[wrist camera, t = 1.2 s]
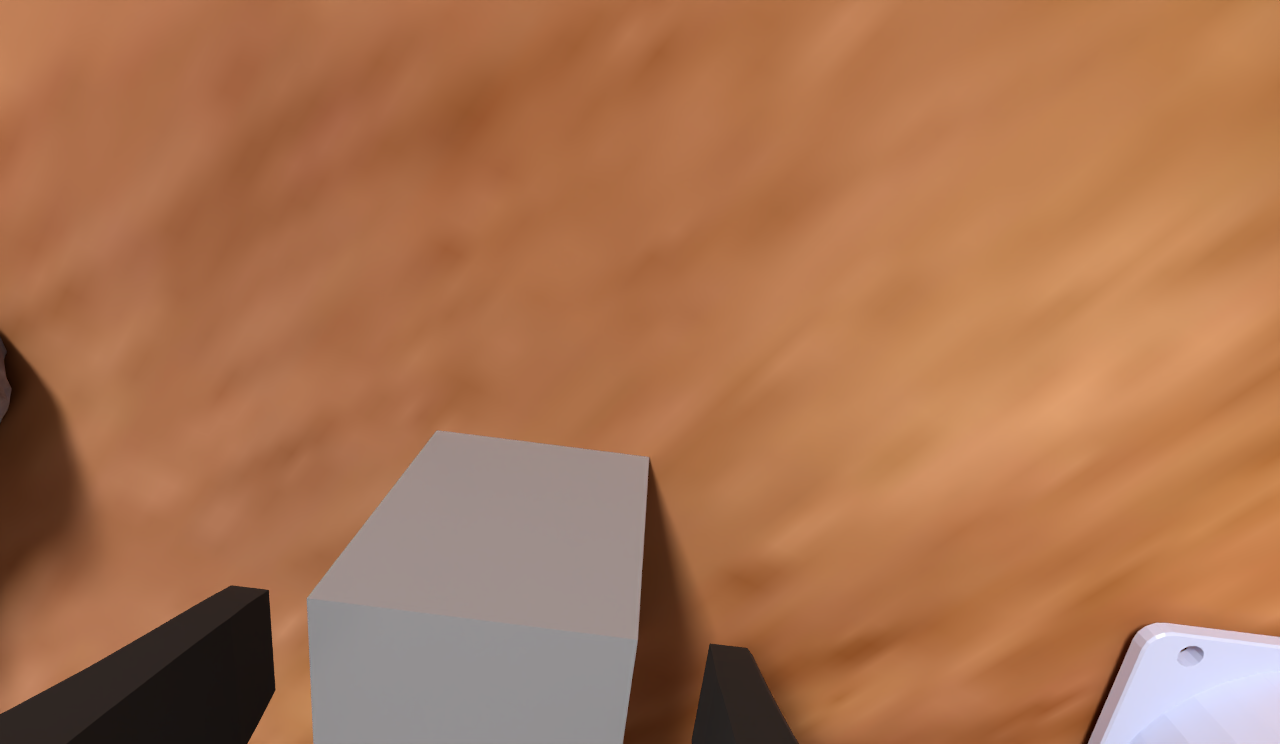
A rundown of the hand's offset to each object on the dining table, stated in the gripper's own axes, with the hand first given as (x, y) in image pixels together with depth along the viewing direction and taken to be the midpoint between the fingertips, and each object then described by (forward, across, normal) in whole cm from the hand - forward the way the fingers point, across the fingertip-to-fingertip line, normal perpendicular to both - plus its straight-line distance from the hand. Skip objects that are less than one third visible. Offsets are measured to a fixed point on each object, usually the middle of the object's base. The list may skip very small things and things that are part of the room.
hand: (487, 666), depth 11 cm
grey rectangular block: (+4, 0, 0) cm, 4 cm away
